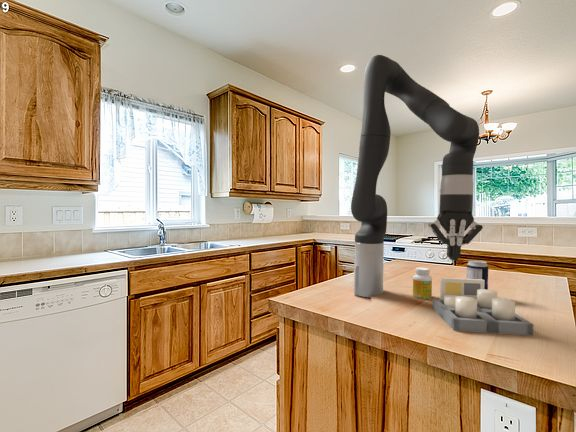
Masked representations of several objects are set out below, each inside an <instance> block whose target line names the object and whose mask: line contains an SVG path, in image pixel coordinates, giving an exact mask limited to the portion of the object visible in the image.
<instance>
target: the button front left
mask: <svg viewBox="0 0 576 432" xmlns="http://www.w3.org/2000/svg"><path fill="white" fill-rule="evenodd" d="M455 315H456V316H458V317H461V318H471V319H476V318H477V299H475V298H471V297H466V296H457V297H456V302H455Z"/></svg>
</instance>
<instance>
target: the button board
mask: <svg viewBox="0 0 576 432" xmlns="http://www.w3.org/2000/svg"><path fill="white" fill-rule="evenodd" d="M439 281H440V289H439V290H440V291H439V293H440V294H439V298H432V309H433V311H435V312H436V313H437V314H438V315H439V317H441V318H442V320H443V321H444V322H445V323H446V324H447V325H448V326H449V328H451V329H452V330H453V331H456V332H457V331H458V332H471V333H487V334H502V335H515V336H516V335H518V336H534V323H532V322H530V321H529V320H528V319H525V318H523V317H522V316H520V315H518V314H517V313H515V321H504V320H498V319H495V318H493V317H492V309H483V308H480V307H478V306H477V318H476V319H471V318H461V317H458V316H456V315H455V307H446V306H445V305H444V296H445V295H455V296H466V297H471V298H475V299H477V290H478V289H484V284H485V280H481V279H467V278H456V277H455V278H452V277H451V278H450V277H440V280H439Z"/></svg>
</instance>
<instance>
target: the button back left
mask: <svg viewBox="0 0 576 432" xmlns="http://www.w3.org/2000/svg"><path fill="white" fill-rule="evenodd" d="M456 297H457V296H455V295H445V296H444V305H445V306H446V307H455V302H456Z"/></svg>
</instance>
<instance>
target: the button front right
mask: <svg viewBox="0 0 576 432" xmlns="http://www.w3.org/2000/svg"><path fill="white" fill-rule="evenodd" d="M515 314H516V302H515V301H514V300H512V299H508V298H505V297H504V298H503V297H497V298H493V299H492V317H493V318H495V319H498V320H504V321H515Z"/></svg>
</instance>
